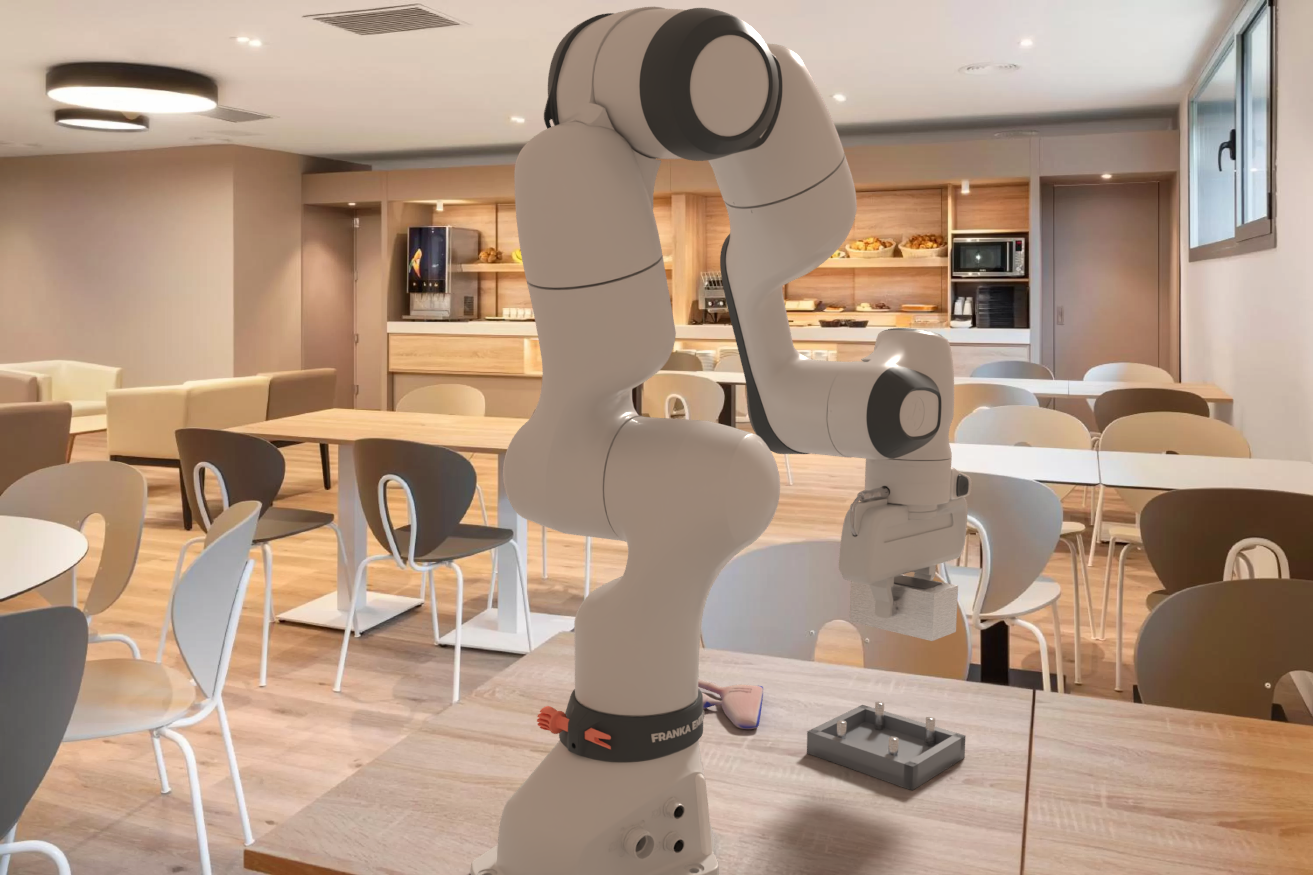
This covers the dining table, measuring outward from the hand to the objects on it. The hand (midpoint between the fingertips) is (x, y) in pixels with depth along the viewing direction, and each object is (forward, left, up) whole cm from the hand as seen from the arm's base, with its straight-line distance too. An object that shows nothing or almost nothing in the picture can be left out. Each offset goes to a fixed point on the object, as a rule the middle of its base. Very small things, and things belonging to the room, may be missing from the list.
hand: (901, 611), depth 113 cm
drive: (0, 0, -2) cm, 2 cm away
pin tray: (-1, +1, -16) cm, 16 cm away
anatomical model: (-5, +28, -17) cm, 33 cm away
